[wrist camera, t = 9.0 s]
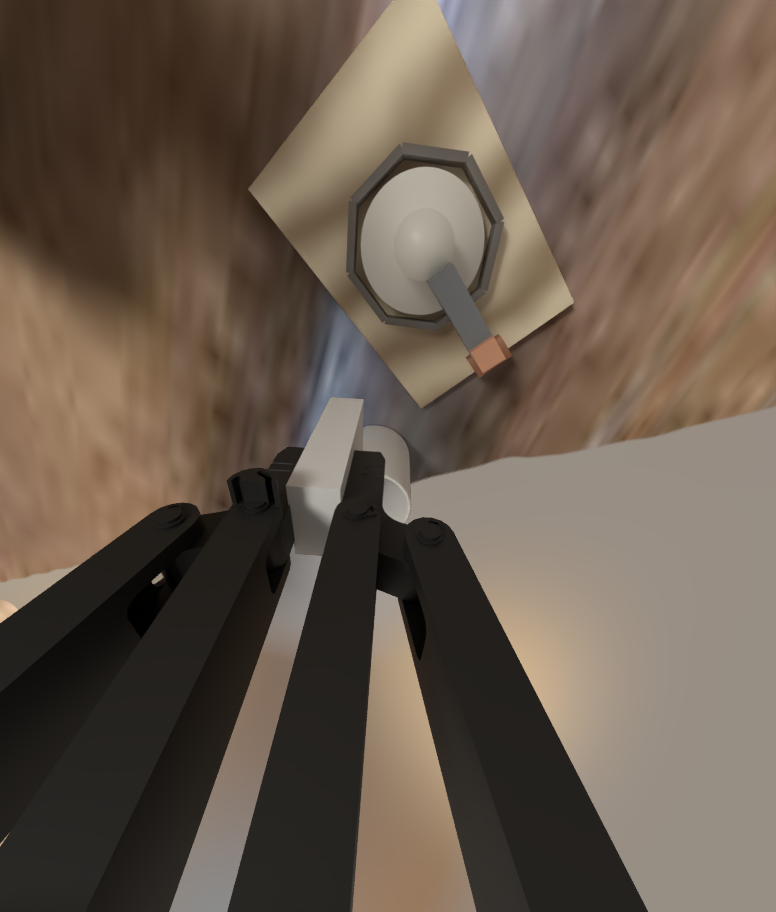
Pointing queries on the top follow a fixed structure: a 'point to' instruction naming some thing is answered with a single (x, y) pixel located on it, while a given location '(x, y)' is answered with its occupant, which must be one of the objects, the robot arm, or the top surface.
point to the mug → (392, 469)
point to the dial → (429, 253)
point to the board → (385, 156)
